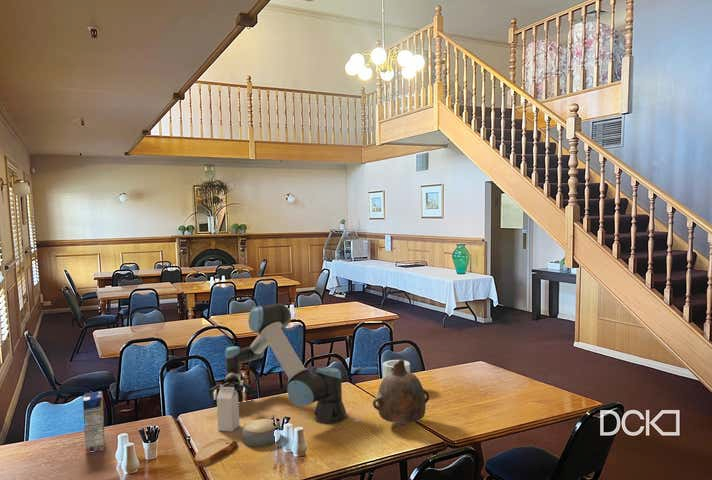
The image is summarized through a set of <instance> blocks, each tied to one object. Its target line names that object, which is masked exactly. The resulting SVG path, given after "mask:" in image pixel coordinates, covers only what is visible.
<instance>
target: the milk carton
mask: <svg viewBox="0 0 712 480" xmlns="http://www.w3.org/2000/svg"><path fill="white" fill-rule="evenodd" d="M216 413H217V430H218V432H234V431H235V430H236V429H237V428H238V427H240V409H239V393H238V391H237V390H234V387H220V390H219V393H218V394H217V396H216Z"/></svg>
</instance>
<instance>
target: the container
mask: <svg viewBox="0 0 712 480" xmlns="http://www.w3.org/2000/svg"><path fill="white" fill-rule="evenodd" d="M399 360H400V359H392V360H391V359H390V360H386V361H384V362H382V377H383V378H382V380H383V379H384V377H385V376H386V375H387V374H389V373H391V369H392V368H393V367H394V364H395V363H397V362H398V361H399ZM404 365H405V369H406V371H409V372H411V363H410V361H408V360H404Z"/></svg>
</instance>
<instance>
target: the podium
mask: <svg viewBox="0 0 712 480" xmlns="http://www.w3.org/2000/svg"><path fill="white" fill-rule="evenodd" d="M272 420H273V419H272V418H260V419H254V420H252V421H249V422H247V423H245V424H244V425H243V426H242V430H241V431H242V432H241V433H242V435H241V436H242V444H243V445H245V446H247V447H249V448H264V447H269V446H272V445H275V444H276V443H275V436H274V431H275V428H276V427H277V426H278V428H280V429H281V423H280V422H279V421H278V420H276V421H275V422H276V426H274V425H273V421H272Z"/></svg>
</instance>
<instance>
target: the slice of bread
mask: <svg viewBox="0 0 712 480" xmlns="http://www.w3.org/2000/svg"><path fill="white" fill-rule="evenodd" d="M237 445H238V441H237V440H231V439H229V440H228V439H224V438H217V439H215V440H213V441H211V442H210V441H209V442H208V443H207V444H205V445H204V446H202V447H201V448H200V449H199V451H197V452H196V454H195V456H194V459H193V463H194V465H195V466H196V467H205V466H208V465H209V464H212V463H214V462H216V461H218V460H219V459H221V458H223V457H224V456H225V455H227V454H229V453H230V452H231V451H232V450H234V448H235V447H236V446H237ZM207 464H208V465H207Z"/></svg>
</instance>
